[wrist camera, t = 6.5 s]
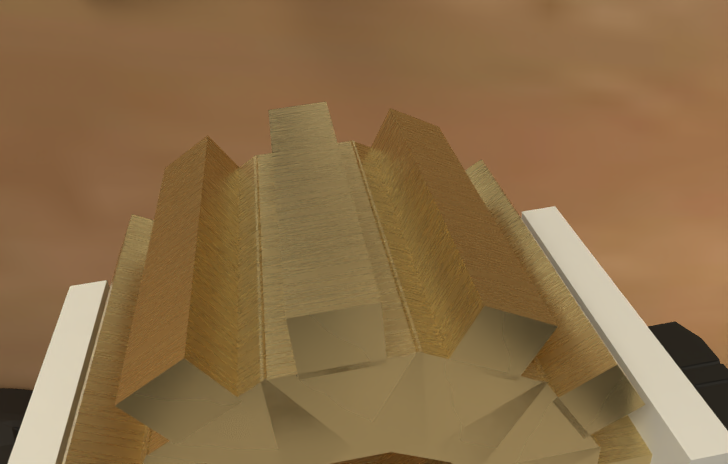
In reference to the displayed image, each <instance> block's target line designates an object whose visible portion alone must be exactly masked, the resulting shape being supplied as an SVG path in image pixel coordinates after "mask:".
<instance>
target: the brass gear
mask: <svg viewBox="0 0 728 464" xmlns="http://www.w3.org/2000/svg"><path fill="white" fill-rule="evenodd" d="M269 121H270V133H271V145H272V153H270V154H263V155H256V156H254V157H253V158H252V159H250V160H249V161H248V162H246V163H245V164H244V165H242V166H241V167H240V168H239V167H238V166H237V165H236V164H235V163H234V162H233V161H232V160H231V159H230V158H229V157H228V156H227V155H226V154H225V153H224V152H223V150H222V149H221V148H220V147H219V146H218V145H217V144H216V143H215V142H214V141H213V140H212V139H211V138H210V137H209V136H206V137H205V138H204V139H203V140H201V141H200V142H199V143H197V144H196V145H195V146H193V147H192V148H191V149H190V150H188V151H187V152H186V153H184V154H183V155H182V156H180V157H179V158H178V159H177V160H175V161H174V162H173V163H171V164H170V165H169V166H167V167H166V168H165V171H164V175H163V180H162V185H161V190H160V194H159V199H158V204H157V208H156V213H155V218H154V220H151V219H147V218H144V217H140V216H136V215H133V214H132V215H131V219H130V222H129V225H128V228H127V231H126V234H125V238H124V241H123V244H122V247H121V250H120V254H119V257H118V260H117V264H116V268H115V271H114V275H113V279H112V282H111V286H110V290H109V293H108V297H107V301H106V304H105V308H104V312H103V315H102V319H101V323H100V326H99V330H98V334H97V337H96V341H95V345H94V348H93V352H92V356H91V359H90V363H89V367H88V370H87V374H86V378H85V381H84V385H83V389H82V392H81V396H80V400H79V403H78V407H77V411H76V414H75V418H74V422H73V425H72V429H71V433H70V436H69V440H68V443H67V447H66V451H65V454H64V458H63V462H62V464H650V463H651V459H652V453H651V451H650V450H649V448H648V447H647V445H646V443H645V442H644V440H643V439H642V437H641V435H640V434H639V432H638V431H637V429H636V427H635V426H634V424H633V423H632V421H631V419H630V418H629V416H628V414H630V413H631V412H633V411H635V410H637V409H639V408H641V407H642V406H644V405H645V403H644V402H643V400H642V399H641V397H640V396H639V394H638V393H637V391H636V390H635V388H634V387H633V385H632V384H631V382H630V381H629V379H628V378H627V376H626V375H625V373H624V372H623V370H622V369H621V367H620V366H619V364H618V363H617V361H616V360H615V358H614V357H613V355H612V354H611V352H610V351H609V349H608V348H607V346H606V345H605V343H604V342H603V340H602V339H601V337H600V336H599V334H598V333H597V331H596V330H595V328H594V327H593V325H592V324H591V322H590V321H589V319H588V318H587V316H586V315H585V313H584V312H583V310H582V309H581V307H580V306H579V304H578V303H577V301H576V300H575V298H574V297H573V295H572V294H571V292H570V291H569V289H568V288H567V286H566V285H565V283H564V282H563V280H562V279H561V277H560V276H559V274H558V273H557V271H556V270H555V268H554V267H553V265H552V263H551V262H550V260H549V259H548V257H547V256H546V254H545V253H544V251H543V250H542V248H541V247H540V245H539V244H538V242H537V241H536V239H535V238H534V236H533V235H532V233H531V232H530V230H529V229H528V227H527V226H526V224H525V223H524V221H523V220H522V218H521V217H520V215H519V214H518V212H517V211H516V209H515V208H514V206H513V205H512V203H511V202H510V200H509V199H508V197H507V196H506V194H505V193H504V191H503V190H502V189H501V187H500V186H499V184H498V183H497V181H496V180H495V178H494V177H493V175H492V174H491V173H490V171H489V170H488V168H487V167H486V165H485V164H484V162H483V161H482V160H480V161H478V162H477V163H475V164H474V165H473V166H471V167H470V168H468V169H467V170H464V168H463V167H462V165H461V163H460V162H459V160H458V158H457V157H456V155H455V153H454V152H453V150H452V148H451V147H450V145H449V143H448V142H447V140H446V138H445V137H444V135H443V133H442V132H441V130H440V128H439V127H438V126H435V125H433V124H430V123H427V122H425V121H422V120H420V119H417V118H414V117H412V116H409V115H407V114H404V113H401V112H399V111H396V110H393V109H391V108H390V110H389V112H388V114H387V116H386V118H385V120H384V122H383V124H382V126H381V128H380V130H379V132H378V134H377V136H376V138H375V140H374V142H373V144H372V146H371V147H368V146H365V145H362V144H359V143H357V142H354V141H349V142H342V143H337V140H336V136H335V132H334V129H333V125H332V121H331V118H330V114H329V110H328V107H327V103H326V102H321V103H314V104H307V105H300V106H293V107H287V108H280V109H273V110H269Z"/></svg>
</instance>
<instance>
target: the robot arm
mask: <svg viewBox="0 0 728 464" xmlns="http://www.w3.org/2000/svg"><path fill="white" fill-rule="evenodd" d="M522 220H523V221H524V223H525V224H526V226H527V227H528V229H529V230H530V232H531V233H532V235H533V236H534V238H535V239H536V241H537V242H538V244H539V245H540V247H541V248H542V250H543V251H544V253H545V254H546V256H547V257H548V259H549V260H550V262H551V263H552V265H553V267H554V268H555V270H556V271H557V273H558V274H559V276H560V277H561V279H562V280H563V282H564V283H565V285H566V286H567V288H568V289H569V291H570V292H571V294H572V295H573V297H574V298H575V300H576V301H577V303H578V304H579V306H580V307H581V309H582V310H583V312H584V313H585V315H586V316H587V318H588V319H589V321H590V322H591V324H592V325H593V327H594V328H595V330H596V331H597V333H598V334H599V336H600V337H601V339H602V340H603V342H604V343H605V345H606V346H607V348H608V349H609V351H610V352H611V354H612V355H613V357H614V358H615V360H616V361H617V363H618V364H619V366H620V367H621V369H622V370H623V372H624V373H625V375H626V376H627V378H628V379H629V381H630V382H631V384H632V385H633V387H634V388H635V390H636V391H637V393H638V394H639V396H640V397H641V399H642V400H643V402H644V403H645V405H644V406H642V407H641V408H639V409H637V410H635V411H633V412H631V413H630V414H628V416H629V418H630V419H631V421H632V423H633V424H634V426H635V427H636V429H637V431H638V432H639V434H640V435H641V437H642V439H643V440H644V442H645V443H646V445H647V447H648V448H649V450H650V451H651V453H652V459H651V463H650V464H728V369H727V368H726V367H725V365H724V364H720V361H719V358H718V357H717V356H716V355H715V354H714V353H713V351H712V350H711V349H710V348H709V347H708V346H707V344H706V343H705V342H704V341H703V340H702V338H700V337H699V336H697V335H695V334H694V333H692V332H691V331H689V330H688V329H686V328H684V327H683V326H681V325H680V324H678V323H677V322H670V323H665V324H659V325H654V326H648V327H647V325H646V324H645V323H644V321H643V320H642V319H641V318H640V316H639V315H638V314H637V312H636V311H635V310H634V308H633V307H632V306H631V305H630V303H629V302H628V301H627V299H626V298H625V297H624V295H623V294H622V293H621V292H620V290H619V289H618V288H617V286H616V285H615V284H614V282H613V281H612V280H611V279H610V277H609V276H608V275H607V273H606V272H605V271H604V269H603V268H602V267H601V266H600V264H599V263H598V262H597V260H596V259H595V258H594V256H593V255H592V254H591V253H590V251H589V250H588V249H587V247H586V246H585V245H584V243H583V242H582V241H581V240H580V238H579V237H578V236H577V234H576V233H575V232H574V231H573V229H572V228H571V227H570V225H569V224H568V223H567V221H566V220H565V219H564V218H563V216H562V215H561V214H560V212H559V211H558V210H557V208H556V207H555V206H554V207H548V208H542V209H536V210H530V211H524V212H522ZM109 290H110V287H109V285H108V282H107V280H105V281H99V282H93V283H87V284H81V285H75V286H70V288H69V291H68V294H67V296H66V299H65V302H64V305H63V308H62V311H61V313H60V316H59V319H58V322H57V325H56V328H55V330H54V333H53V336H52V339H51V342H50V345H49V347H48V350H47V353H46V356H45V359H44V362H43V364H42V367H41V370H40V373H39V376H38V379H37V382H36V384H35V387H34V390H33V391H30V390H22V389H0V464H62V462H63V458H64V454H65V451H66V447H67V443H68V440H69V436H70V433H71V429H72V425H73V422H74V418H75V414H76V411H77V407H78V403H79V400H80V396H81V392H82V389H83V385H84V381H85V378H86V374H87V370H88V367H89V363H90V359H91V356H92V352H93V348H94V345H95V341H96V337H97V334H98V330H99V326H100V323H101V319H102V315H103V312H104V308H105V304H106V301H107V297H108V293H109Z"/></svg>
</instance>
